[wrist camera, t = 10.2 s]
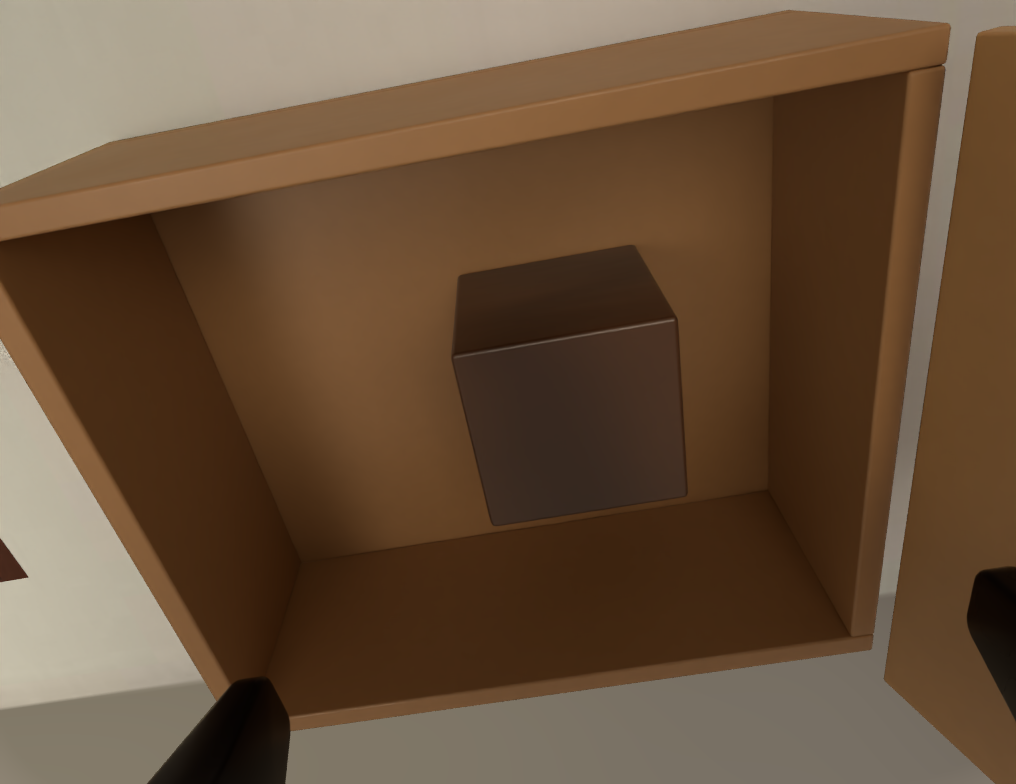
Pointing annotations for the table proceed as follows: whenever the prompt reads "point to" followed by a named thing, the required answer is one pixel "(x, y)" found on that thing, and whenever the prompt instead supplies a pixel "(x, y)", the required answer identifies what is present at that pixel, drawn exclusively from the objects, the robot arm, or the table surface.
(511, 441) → the block
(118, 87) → the table surface
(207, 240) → the carton
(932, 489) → the flap
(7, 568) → the diorama
